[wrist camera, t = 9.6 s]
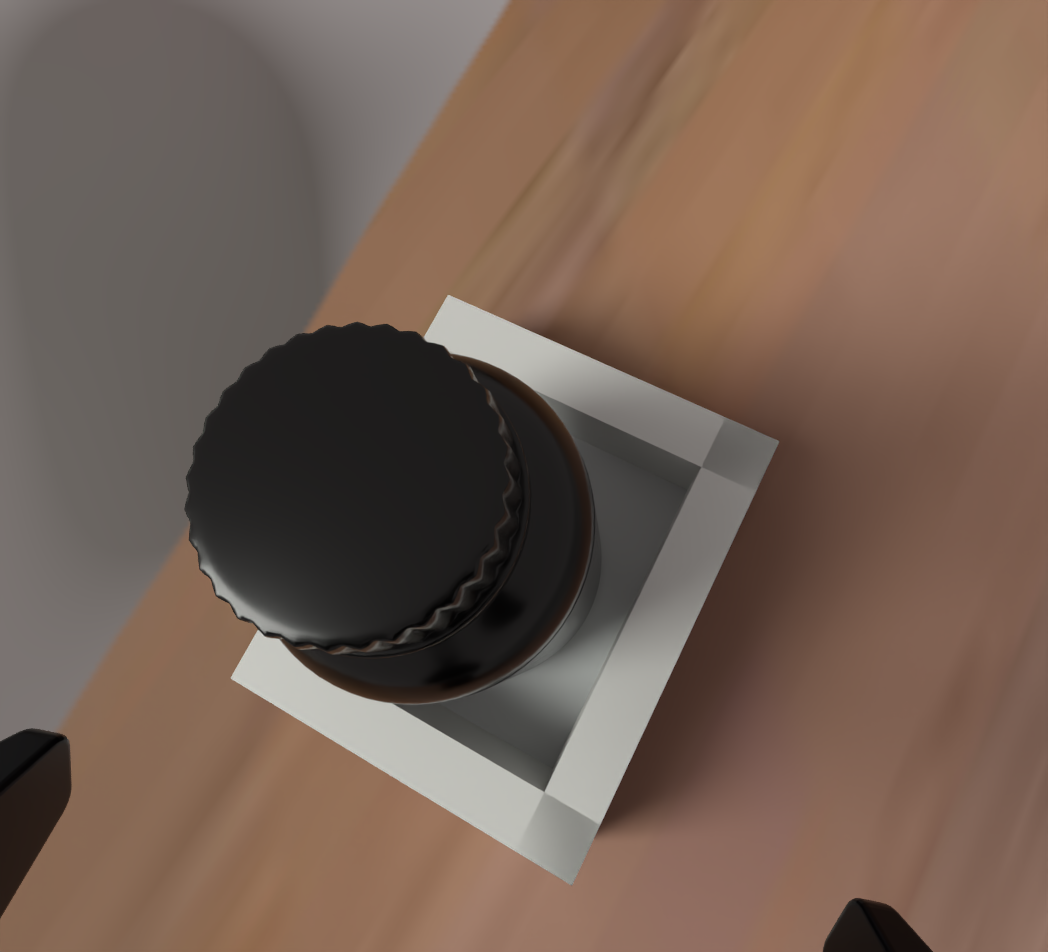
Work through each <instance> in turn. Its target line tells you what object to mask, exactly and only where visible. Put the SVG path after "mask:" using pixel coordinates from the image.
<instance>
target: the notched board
mask: <svg viewBox="0 0 1048 952" xmlns="http://www.w3.org/2000/svg"><path fill="white" fill-rule="evenodd" d="M424 339H425V340H426V341H427V342H431V343H436V344H440V345H443V346H445V347H446V348H447V350H448V351H449V352H450V353H452V354H458V355H463V356H467V357H472V358H475V359H478V360H481V361H484V362H487V363H489V364H492V365H494V366H496V367H498V368H500V369H503V370H504V371H506V372H508V373H510V374H511V375H513V376H515V377H517V378H518V379H520V380H521V381H522V382H524V383H525V384H527V385H528V386H529V387H531V388H532V389H533V390H534V391H535V392H537V393H538V394H539V395H540V396H541V397H542V398H543V399H544V400H545V401H546V402H547V403H548V404H549V405H550V406H551V407H552V408H553V409H554V411H555V412H556V413H557V415H558V416H559V417H560V419H561V420H562V421H563V423H564V424H565V426H566V427H567V429H568V431H569V432H570V434H571V435H572V437H573V439H574V441H575V443H576V445H577V447H578V449H579V452H580V454H581V456H582V458H583V461H584V464H585V466H586V469H587V472H588V475H589V479H590V483H591V488H592V492H593V497H594V503H595V510H596V516H597V522H598V528H599V534H600V542H601V555H602V563H601V575H600V582H599V587H598V590H597V594H596V597H595V600H594V603H593V605H592V608H591V610H590V612H589V614H588V616H587V618H586V620H585V621H584V623H583V624H582V626H581V628H580V629H579V630H578V632H577V633H576V634H575V635H574V637H573V638H572V639H571V640H570V641H569V642H568V643H567V644H566V645H565V646H564V647H563V648H562V649H561V650H560V651H559V652H557V653H556V654H555V655H553V656H552V657H551V658H549V659H548V660H546V661H545V662H543V663H541V664H540V665H538V666H536V667H535V668H533V669H530V670H528V671H526V672H524V673H521V674H519V675H517V676H515V677H513V678H510V679H508V680H506V681H504V682H501V683H499V684H497V685H495V686H492V687H490V688H488V689H486V690H483V691H481V692H478V693H475V694H472V695H469V696H465V697H462V698H458V699H454V700H449V701H445V702H439V703H429V704H407V705H403V704H393V703H384V702H379V701H375V700H370V699H366V698H363V697H360V696H357V695H354V694H351V693H349V692H347V691H344V690H342V689H340V688H338V687H335V686H334V685H332V684H330V683H329V682H327V681H325V680H323V679H322V678H320V677H318V676H317V675H316V674H314V673H313V672H312V671H310V670H309V669H308V668H306V667H305V666H304V665H303V664H302V663H301V662H300V661H298V660H297V659H296V658H295V657H294V656H293V655H292V654H291V653H290V652H289V650H288V649H287V648H286V647H285V646H284V645H283V644H282V642H281V641H280V640H279V639H274V638H267V637H265V636H264V635H263V634H262V633H261V632H260V631H259V630H258V631H257V633H256V634H255V636H254V638H253V640H252V642H251V643H250V645H249V647H248V649H247V650H246V652H245V654H244V656H243V657H242V659H241V661H240V663H239V664H238V666H237V668H236V670H235V671H234V673H233V675H232V677H231V679H233V680H234V681H236V682H237V683H239V684H241V685H242V686H244V687H246V688H247V689H249V690H251V691H252V692H254V693H256V694H257V695H259V696H261V697H262V698H264V699H265V700H267V701H269V702H270V703H272V704H274V705H275V706H277V707H279V708H280V709H282V710H284V711H285V712H287V713H289V714H290V715H292V716H293V717H295V718H297V719H298V720H300V721H302V722H303V723H305V724H307V725H308V726H310V727H312V728H313V729H315V730H317V731H318V732H320V733H321V734H323V735H325V736H326V737H328V738H330V739H331V740H333V741H335V742H336V743H338V744H340V745H341V746H343V747H345V748H346V749H348V750H349V751H351V752H353V753H354V754H356V755H358V756H359V757H361V758H363V759H364V760H366V761H368V762H369V763H371V764H373V765H374V766H376V767H377V768H379V769H381V770H382V771H384V772H386V773H387V774H389V775H391V776H392V777H394V778H396V779H397V780H399V781H401V782H402V783H404V784H405V785H407V786H409V787H410V788H412V789H414V790H415V791H417V792H419V793H420V794H422V795H424V796H425V797H427V798H429V799H430V800H432V801H433V802H435V803H437V804H438V805H440V806H442V807H443V808H445V809H447V810H448V811H450V812H452V813H453V814H455V815H457V816H458V817H460V818H461V819H463V820H465V821H466V822H468V823H470V824H471V825H473V826H475V827H476V828H478V829H480V830H481V831H483V832H485V833H486V834H488V835H489V836H491V837H493V838H494V839H496V840H498V841H499V842H501V843H503V844H504V845H506V846H508V847H509V848H511V849H513V850H514V851H516V852H517V853H519V854H521V855H522V856H524V857H526V858H527V859H529V860H531V861H532V862H534V863H536V864H537V865H539V866H541V867H542V868H544V869H545V870H547V871H549V872H550V873H552V874H554V875H555V876H557V877H559V878H560V879H562V880H564V881H565V882H567V883H568V884H570V885H572V884H573V882H574V880H575V878H576V876H577V874H578V871H579V869H580V867H581V865H582V863H583V861H584V859H585V856H586V854H587V852H588V850H589V848H590V846H591V844H592V841H593V839H594V837H595V835H596V833H597V831H598V829H599V827H600V824H601V822H602V820H603V818H604V816H605V814H606V812H607V809H608V807H609V805H610V803H611V801H612V799H613V797H614V794H615V792H616V790H617V788H618V786H619V784H620V782H621V779H622V777H623V775H624V773H625V771H626V769H627V767H628V764H629V762H630V760H631V758H632V756H633V754H634V752H635V749H636V747H637V745H638V743H639V741H640V739H641V737H642V734H643V732H644V730H645V728H646V726H647V724H648V722H649V720H650V717H651V715H652V713H653V711H654V709H655V707H656V705H657V702H658V700H659V698H660V696H661V694H662V692H663V690H664V687H665V685H666V683H667V681H668V679H669V677H670V675H671V672H672V670H673V668H674V666H675V664H676V662H677V660H678V657H679V655H680V653H681V651H682V649H683V647H684V645H685V642H686V640H687V638H688V636H689V634H690V632H691V630H692V628H693V625H694V623H695V621H696V619H697V617H698V615H699V613H700V610H701V608H702V606H703V604H704V602H705V600H706V598H707V595H708V593H709V591H710V589H711V587H712V585H713V583H714V580H715V578H716V576H717V574H718V572H719V570H720V568H721V565H722V563H723V561H724V559H725V557H726V555H727V553H728V550H729V548H730V546H731V544H732V542H733V540H734V538H735V535H736V533H737V531H738V529H739V527H740V525H741V523H742V521H743V518H744V516H745V514H746V512H747V510H748V508H749V506H750V503H751V501H752V499H753V497H754V495H755V493H756V491H757V488H758V486H759V484H760V482H761V480H762V478H763V476H764V473H765V471H766V469H767V467H768V465H769V463H770V461H771V458H772V456H773V454H774V452H775V450H776V448H777V446H778V443H779V441H778V440H776V439H773V438H771V437H769V436H767V435H764V434H762V433H760V432H758V431H755V430H753V429H751V428H748V427H746V426H744V425H742V424H739V423H737V422H735V421H733V420H730V419H728V418H726V417H724V416H721V415H719V414H717V413H715V412H712V411H710V410H708V409H705V408H703V407H701V406H699V405H696V404H694V403H692V402H690V401H687V400H685V399H683V398H681V397H678V396H676V395H674V394H672V393H669V392H667V391H665V390H662V389H660V388H658V387H656V386H653V385H651V384H649V383H647V382H644V381H642V380H640V379H638V378H635V377H633V376H631V375H628V374H626V373H624V372H622V371H619V370H617V369H615V368H613V367H610V366H608V365H606V364H604V363H601V362H599V361H597V360H595V359H592V358H590V357H588V356H585V355H583V354H581V353H579V352H576V351H574V350H572V349H570V348H567V347H565V346H563V345H561V344H558V343H556V342H554V341H552V340H549V339H547V338H545V337H542V336H540V335H538V334H536V333H533V332H531V331H529V330H527V329H524V328H522V327H520V326H518V325H515V324H513V323H511V322H509V321H506V320H504V319H502V318H499V317H497V316H495V315H493V314H490V313H488V312H486V311H484V310H481V309H479V308H477V307H475V306H472V305H470V304H468V303H465V302H463V301H461V300H459V299H456V298H454V297H452V296H450V295H448V296H447V298H446V299H445V301H444V303H443V305H442V307H441V308H440V310H439V312H438V314H437V315H436V317H435V319H434V321H433V322H432V324H431V326H430V328H429V329H428V331H427V333H426V335H425V337H424Z"/></svg>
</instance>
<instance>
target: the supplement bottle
mask: <svg viewBox="0 0 1048 952" xmlns="http://www.w3.org/2000/svg"><path fill="white" fill-rule="evenodd" d="M186 480H187V487H188V491H189V494H188V498H187V501H186V504H185V512H186V514H187V517H188V518H189V520H190V531H189V541H190V542H191V544H192V546H193V547H194V548H195V549H196V550H197V552H198V562H199V569H200V570H201V571H202V572H203V573H204V574H205V575H206V576H208V577H209V578H210V579H211V582H212V586H213V589H214V592H215V595H216V597H218V598H220V599H221V600H223V601H225V602H227V603H229V604H230V606H231V608H232V610H233V612H234V613H235V615H236V617H237V618H238V619H239V620H242V621H245V622H248V623H253V624H254V625H255V626H256V627H257V629H258V630H259V631H260V632H261V633H262V634H263V635H264V636H265V637H267V638H274V639H279V640H280V641H281V642H282V644H283V645H284V646H285V647H286V648H287V649H288V650H289V652H290V653H291V654H292V655H293V656H294V657H295V658H296V659H297V660H298V661H300V662H301V663H302V664H303V665H304V666H305V667H306V668H308V669H309V670H310V671H312V672H313V673H314V674H316V675H317V676H318V677H320V678H322V679H323V680H325V681H327V682H329V683H330V684H332V685H334V686H335V687H338V688H340V689H342V690H344V691H347V692H349V693H351V694H354V695H357V696H360V697H363V698H366V699H370V700H375V701H379V702H384V703H393V704H403V705H407V704H429V703H439V702H445V701H449V700H454V699H458V698H462V697H465V696H469V695H472V694H475V693H478V692H481V691H483V690H486V689H488V688H490V687H492V686H495V685H497V684H499V683H501V682H504V681H506V680H508V679H510V678H513V677H515V676H517V675H519V674H521V673H524V672H526V671H528V670H530V669H533V668H535V667H536V666H538V665H540V664H541V663H543V662H545V661H546V660H548V659H549V658H551V657H552V656H553V655H555V654H556V653H557V652H559V651H560V650H561V649H562V648H563V647H564V646H565V645H566V644H567V643H568V642H569V641H570V640H571V639H572V638H573V637H574V635H575V634H576V633H577V632H578V630H579V629H580V628H581V626H582V624H583V623H584V621H585V620H586V618H587V616H588V614H589V612H590V610H591V608H592V605H593V603H594V600H595V597H596V594H597V590H598V587H599V582H600V575H601V563H602V555H601V542H600V534H599V528H598V522H597V516H596V510H595V503H594V497H593V492H592V488H591V483H590V479H589V475H588V472H587V469H586V466H585V464H584V461H583V458H582V456H581V454H580V452H579V449H578V447H577V445H576V443H575V441H574V439H573V437H572V435H571V434H570V432H569V431H568V429H567V427H566V426H565V424H564V423H563V421H562V420H561V419H560V417H559V416H558V415H557V413H556V412H555V411H554V409H553V408H552V407H551V406H550V405H549V404H548V403H547V402H546V401H545V400H544V399H543V398H542V397H541V396H540V395H539V394H538V393H537V392H535V391H534V390H533V389H532V388H531V387H529V386H528V385H527V384H525V383H524V382H522V381H521V380H520V379H518V378H517V377H515V376H513V375H511V374H510V373H508V372H506V371H504V370H503V369H500V368H498V367H496V366H494V365H492V364H489V363H487V362H484V361H481V360H478V359H475V358H472V357H467V356H463V355H458V354H452V353H450V352H449V351H448V350H447V348H446V347H445V346H443V345H440V344H436V343H431V342H427V341H426V340H425V339H424V338H423V337H422V336H421V335H420V334H419V333H417V332H413V331H398V330H397V329H395V328H394V327H392V326H390V325H388V324H381V325H376V326H371V327H370V326H367V325H365V324H363V323H360V322H354V323H351V324H348V325H346V326H343V327H336V326H330V325H326V326H324V327H322V328H320V329H318V330H317V331H315V332H314V333H309V334H307V333H302V334H296V335H295V336H294V337H292V338H291V339H290V340H289V341H288V342H287V343H286V344H284V345H279V346H275V347H272V348H270V349H268V351H267V352H266V353H265V354H264V355H263V357H262V358H261V359H260V361H258V362H255V363H253V364H251V365H249V366H247V367H245V368H244V370H243V371H242V373H241V375H240V377H239V378H238V380H237V382H235V383H234V384H232V385H231V386H229V387H228V388H226V389H225V390H224V391H223V393H222V395H221V397H220V401H219V404H218V406H217V407H216V408H215V409H214V410H213V411H211V413H210V414H209V415H208V416H207V417H206V419H205V423H204V429H203V434H202V435H201V436H200V437H199V439H198V440H197V442H196V443H195V445H194V446H193V464H192V466H191V467H190V469H189V471H188V474H187V476H186Z"/></svg>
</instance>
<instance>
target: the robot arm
mask: <svg viewBox="0 0 1048 952" xmlns="http://www.w3.org/2000/svg"><path fill="white" fill-rule="evenodd" d="M70 794H71V761H70V744H69V740H68V739H67V737H66V736H65V735H63V734H59V733H54V732H50V731H45V730H40V729H26V730H23V731H20V732H18V733H16V734H14V735H12V736H10V737H8V738H6V739H4V740H2V741H0V918H1V916H2V915H3V913H4V911H5V910H6V908H7V906H8V905H9V903H10V901H11V900H12V898H13V896H14V895H15V893H16V891H17V889H18V888H19V886H20V884H21V883H22V881H23V879H24V878H25V876H26V874H27V873H28V871H29V869H30V868H31V866H32V864H33V863H34V861H35V859H36V857H37V856H38V854H39V852H40V851H41V849H42V847H43V846H44V844H45V842H46V841H47V839H48V837H49V836H50V834H51V832H52V831H53V829H54V827H55V825H56V824H57V822H58V820H59V819H60V817H61V815H62V814H63V812H64V810H65V808H66V806H67V803H68V801H69V798H70ZM823 952H933V951H932V950H931V949H930V948H929V947H928V946H927V945H926V943H925V942H924V941H923V940H922V939H921V938H920V937H919V936H918V935H917V933H916V932H915V931H914V930H913V929H912V928H911V927H910V926H909V925H908V923H907V922H906V921H905V920H904V919H903V918H902V917H901V916H900V915H899V913H898V912H897V911H895V910H894V909H893V908H892V907H891V906H889V905H887V904H884V903H881V902H876V901H871V900H866V899H861V898H855V899H853V900H851V901H849V902H848V904H847V905H846V907H845V908H844V910H843V912H842V913H841V915H840V917H839V918H838V920H837V922H836V923H835V925H834V927H833V928H832V930H831V932H830V933H829V935H828V937H827V938H826V941H825V944H824V947H823Z"/></svg>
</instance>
